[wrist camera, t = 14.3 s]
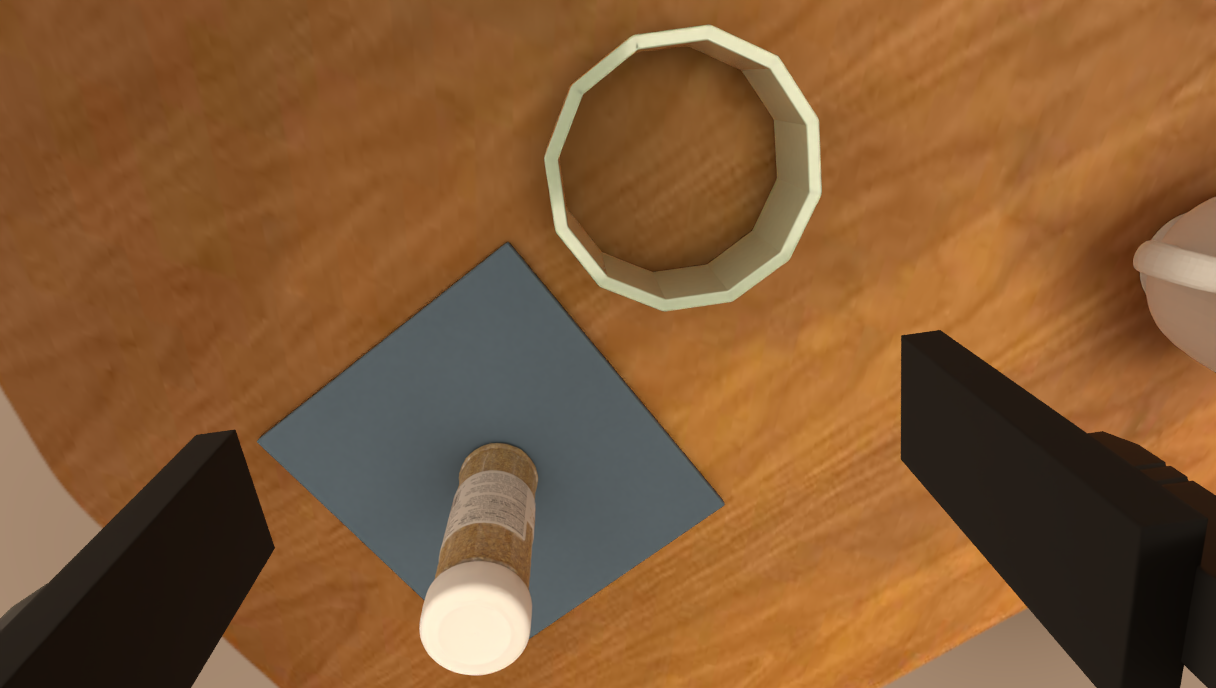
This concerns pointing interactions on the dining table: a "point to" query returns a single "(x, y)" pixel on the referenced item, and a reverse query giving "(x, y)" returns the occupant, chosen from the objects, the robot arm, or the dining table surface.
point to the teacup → (1184, 281)
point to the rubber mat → (495, 439)
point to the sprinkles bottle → (484, 565)
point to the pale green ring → (778, 216)
